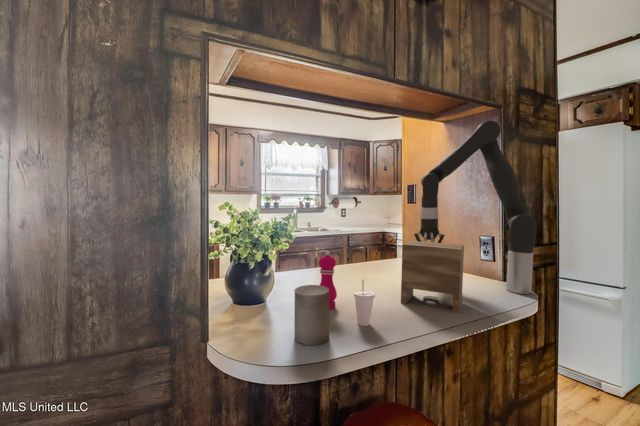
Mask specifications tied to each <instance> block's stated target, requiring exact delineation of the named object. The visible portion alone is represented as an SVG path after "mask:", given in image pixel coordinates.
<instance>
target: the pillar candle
mask: <svg viewBox="0 0 640 426" xmlns="http://www.w3.org/2000/svg"><path fill="white" fill-rule="evenodd" d="M293 291H294V340H295V342H297V343H300V344H303V345H306V346H319V345H322V344H324V343H327V342H328V341H329V339H330V309H329V289H328V288H327V287H324V286H320V284H319V285H318V284H308V285H307V284H305V285H301V286H298V287H296V288H294V289H293Z"/></svg>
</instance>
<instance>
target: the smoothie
mask: <svg viewBox="0 0 640 426" xmlns="http://www.w3.org/2000/svg"><path fill="white" fill-rule="evenodd" d="M364 288H365V279H364V278H362V279H361V290H360V289H359V290H355V291H354V293H353V297H354V302H355V310H356V320H357V325H358V326H360V327H368V326H370V324H371V317H372V310H373V302H374V298H376V297H375V295H376V294H375V293H374V291H370V290H365V289H364Z"/></svg>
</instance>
